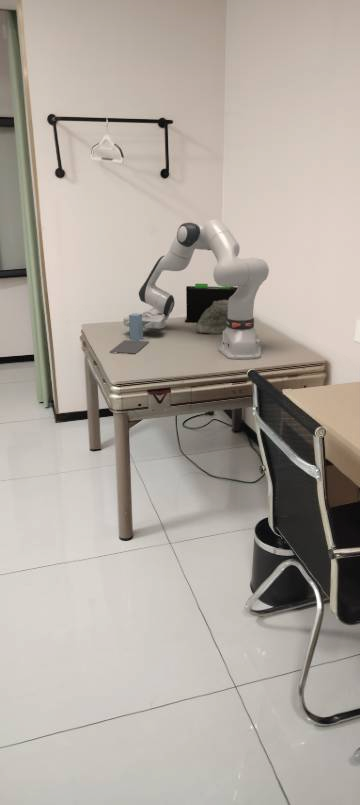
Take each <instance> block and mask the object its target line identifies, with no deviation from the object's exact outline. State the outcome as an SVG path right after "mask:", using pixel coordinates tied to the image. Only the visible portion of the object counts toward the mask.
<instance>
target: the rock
mask: <svg viewBox="0 0 360 805" xmlns="http://www.w3.org/2000/svg"><path fill="white" fill-rule="evenodd" d="M227 317H228V300H219V301H214V302H213V304H212V305H211V306H210V308H208V309H206V310H205V311H204V312H203V314H202V315H201V318H200V319H199V321H198V323H195V324H196V325H195V328H194V330H195V331H196V332H198V333H200V334H202V333H205V334H211V335H220V334H223V331H224V330H225V329H226V327H227V326H226V320H227Z"/></svg>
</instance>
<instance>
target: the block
mask: <svg viewBox="0 0 360 805" xmlns="http://www.w3.org/2000/svg"><path fill="white" fill-rule="evenodd" d="M128 317H129V326H130V327H129V340H131V341H142V340H143V338H144V334H143V332H144V331H143V329H144V327H142V313H138V312H137V313H135V312H134V313H131V314H129V315H128Z"/></svg>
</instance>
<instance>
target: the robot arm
mask: <svg viewBox="0 0 360 805" xmlns="http://www.w3.org/2000/svg"><path fill="white" fill-rule="evenodd" d="M240 248H241V247H240V244H239V242H238V241H237V239H236V238H235V236H234V235H233V233H232V232H231V231H230V229H229V228H228V227H227V226H226V225H225V224H224V222H222V221H221V220H220V219H217V218H214V219H213V218H212V219H210V220H207V222H206V223H204V224H203V223H197V222H196V223H195V222H184V223H182V224H181V225H180V226H179V227H178V229H177V232H176V235H175V237H174V239H173V241H172V243H171V245H170V248H169V250H168V252H167V253H166V255H161V256H160V257H159V258H158V259H157V261H156V263H155V264H154V266H153V268H152V269H151V271H150V272H149V274H148V276H147V278H146V280H145V281H144V283H143V284H142V286H141V287H140V289H139V290H138V297H139V300H140V301H141V302H143V303H145V304H147V305H149V306H151V307H152V308H151V309H148V310H146V311H144V312H142V313H141V314H142V327H143V329H147V330H152V329H159V330H160V329H163V328H166V321H167V320H168V318H169V317H170V314H171V313H172V311H173V309H174V307H175V303H176V302H175V298H174V296H173V295H172V294H171V293H169V292H168V291H165V290H163V289H162V288H160V287H158V286H157V285H156V283H157V280H158V279H159V277H160V276H161V274H162V273H163V271H171V272H180V271H181V272H182V271H184V270H185V269H187V267H188V266H189V265H190V263H191V261H192V257H193V256H194V251H195V250H196V249H197V250H201V251H211V252H212V254H213V255H214V257H215V259H216V261H217V263H216V264H215V266H214V268H213V273H212V275H213V279H214V282H215V283H216V285H218V287H238V288H237V290H236V292H235V293H234V294H233V295H232V296H231V297H230V298H229V300H228V317H227V320H226V326H227V327H226V329H225V330H224V331H223V333H222V340H221V341H222V344H221V346H218V349H217V350H218V351H219V352H220V353H222V355H224V356H225V357H226V358H228V359H231V360H253V359H259V358H261V352H262V350H261V348H262V347H261V346H260V344H261V342H260V341H261V340H260V338H259V334H257V329H256V328H255V317H254V306H255V299H256V296H257V292H258V290H259V288H260V287H261V285H262V284H263V283H264V282H265V281H266V280H267V279H268V276H269V273H270V272H269V271H270V270H269V269H270V268H269V265H268V262H266V261H265V259H261V258H257V257H250V258H248V257H247V258H239V257H238V256H239V254H240ZM123 326H126V328H127V327H128V328H130V326H129V316H127V317H124V318H123Z"/></svg>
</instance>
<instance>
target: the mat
mask: <svg viewBox="0 0 360 805" xmlns="http://www.w3.org/2000/svg"><path fill="white" fill-rule="evenodd" d="M149 343H150V341H148V340H139V341H135V340H130V339H129V340H128V339H124V340H123V341H121V342H120V343H119V344H118V345H116V346H115V347H113V349H111V350H110V351H109V353H110V352H117V353H116V354H119V353H128V354H127V355H137V354H138V353H139V352H140V351H141V350H142V349H144V348H145V347H146V346H147V345H148V344H149ZM136 353H137V354H136Z"/></svg>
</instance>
